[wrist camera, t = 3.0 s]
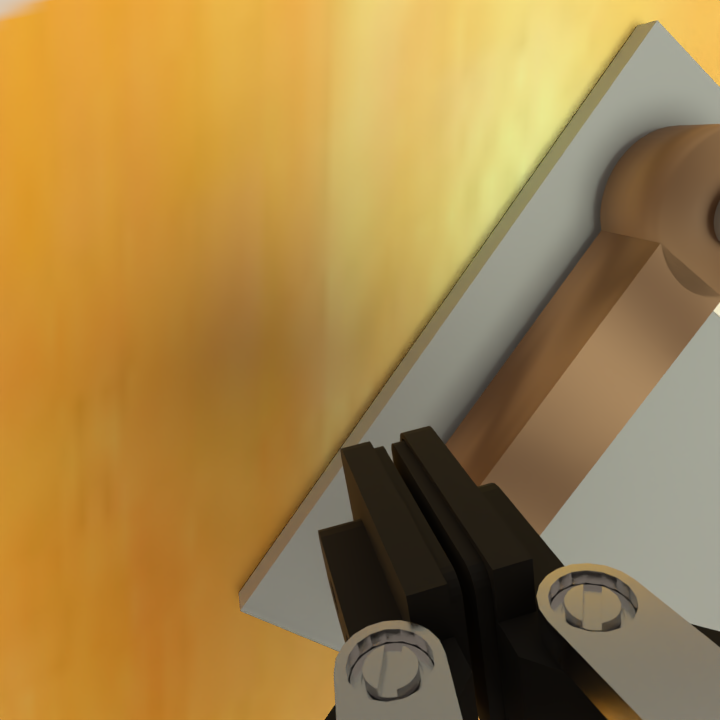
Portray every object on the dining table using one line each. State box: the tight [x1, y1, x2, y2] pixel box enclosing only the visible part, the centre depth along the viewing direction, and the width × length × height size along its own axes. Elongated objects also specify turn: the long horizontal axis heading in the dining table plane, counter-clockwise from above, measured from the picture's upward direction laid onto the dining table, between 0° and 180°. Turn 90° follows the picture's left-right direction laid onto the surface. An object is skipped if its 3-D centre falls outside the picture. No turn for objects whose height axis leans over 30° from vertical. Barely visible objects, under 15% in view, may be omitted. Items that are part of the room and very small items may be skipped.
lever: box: [445, 124, 720, 536], centre depth 21 cm, size 20×5×3 cm, turn 145°
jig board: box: [239, 21, 720, 652], centre depth 24 cm, size 24×23×6 cm
